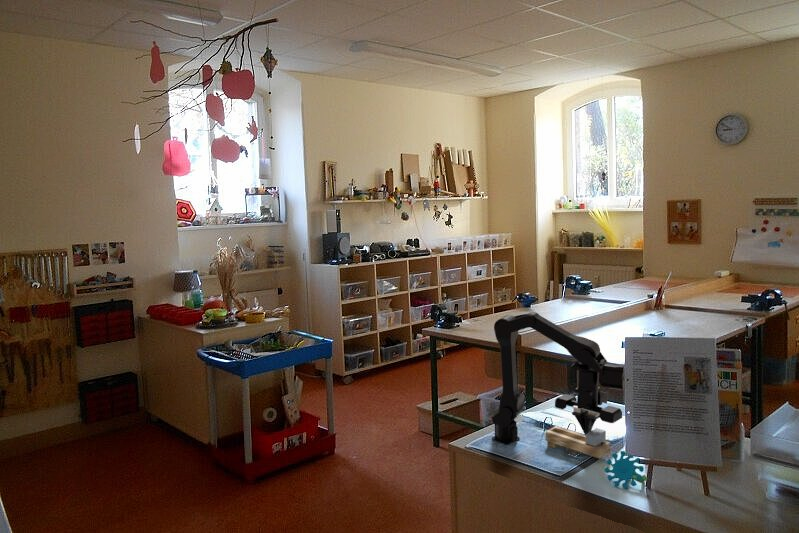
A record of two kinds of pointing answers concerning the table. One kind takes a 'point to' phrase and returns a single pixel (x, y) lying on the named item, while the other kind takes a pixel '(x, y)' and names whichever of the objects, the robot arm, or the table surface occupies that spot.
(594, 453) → the beam
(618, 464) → the gear
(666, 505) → the table surface
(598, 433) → the white rectangular block
